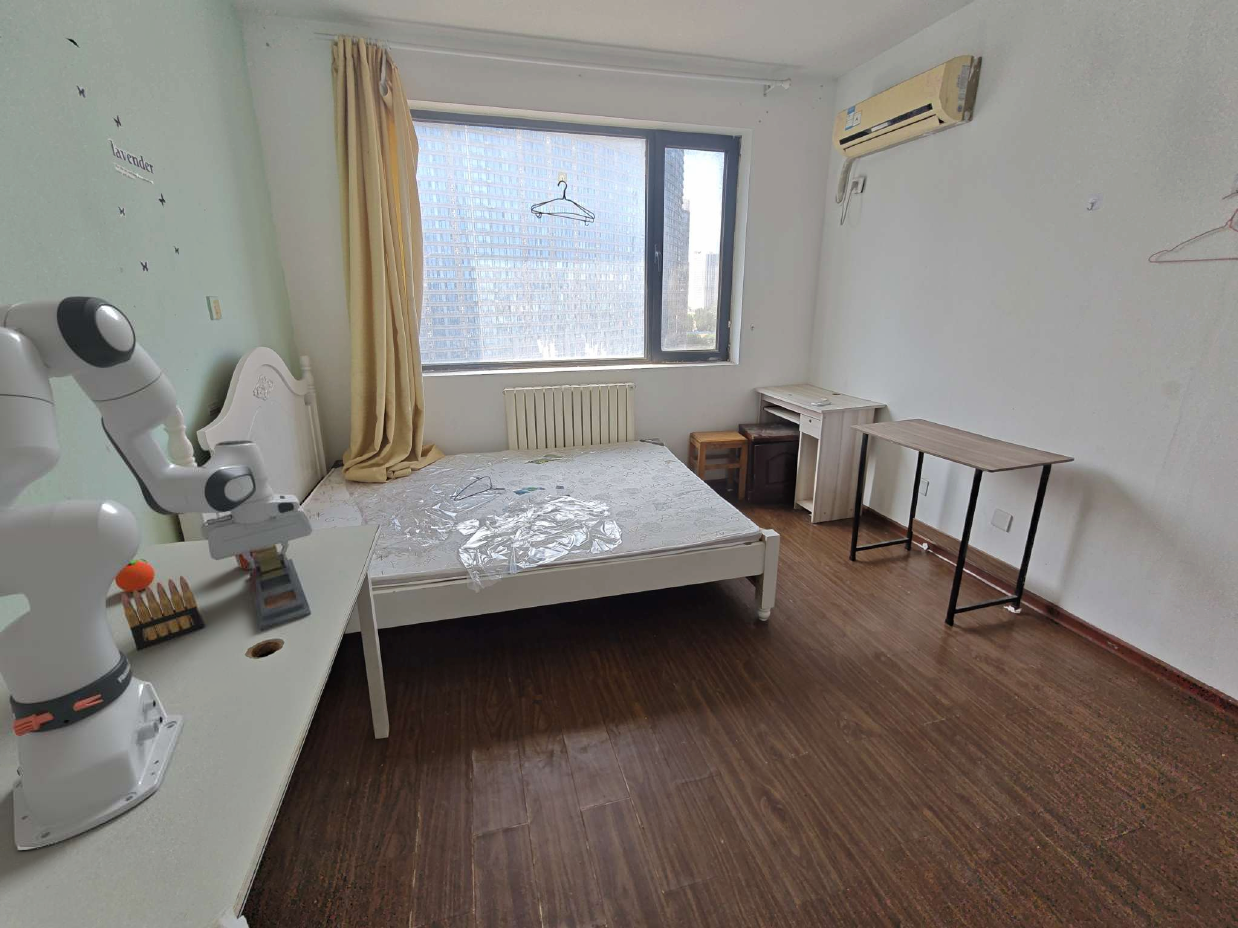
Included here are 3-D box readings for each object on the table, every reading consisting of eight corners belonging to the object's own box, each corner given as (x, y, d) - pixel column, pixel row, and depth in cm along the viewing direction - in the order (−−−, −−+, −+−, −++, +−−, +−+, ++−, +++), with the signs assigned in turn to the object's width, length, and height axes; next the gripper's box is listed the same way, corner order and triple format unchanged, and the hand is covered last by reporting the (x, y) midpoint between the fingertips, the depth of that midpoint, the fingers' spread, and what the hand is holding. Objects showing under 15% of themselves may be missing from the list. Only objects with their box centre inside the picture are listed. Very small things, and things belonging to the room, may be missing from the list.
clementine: (137, 581, 132) (127, 554, 130) (168, 577, 133) (159, 551, 130) (112, 599, 124) (101, 571, 122) (145, 595, 125) (135, 568, 123)
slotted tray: (311, 613, 114) (307, 600, 113) (260, 630, 109) (257, 617, 108) (293, 564, 136) (290, 553, 135) (250, 576, 131) (247, 565, 130)
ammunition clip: (137, 650, 105) (115, 596, 101) (137, 646, 106) (116, 592, 103) (205, 627, 111) (187, 575, 108) (204, 623, 113) (186, 572, 109)
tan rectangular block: (283, 573, 128) (276, 548, 126) (263, 578, 126) (256, 553, 124) (281, 566, 132) (274, 542, 129) (262, 572, 129) (254, 547, 127)
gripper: (197, 526, 115) (216, 583, 120) (305, 500, 127) (319, 553, 131) (197, 517, 120) (216, 572, 125) (301, 493, 132) (315, 544, 136)
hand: (270, 562), depth 128 cm, fingers closed on tan rectangular block, 4 cm apart
